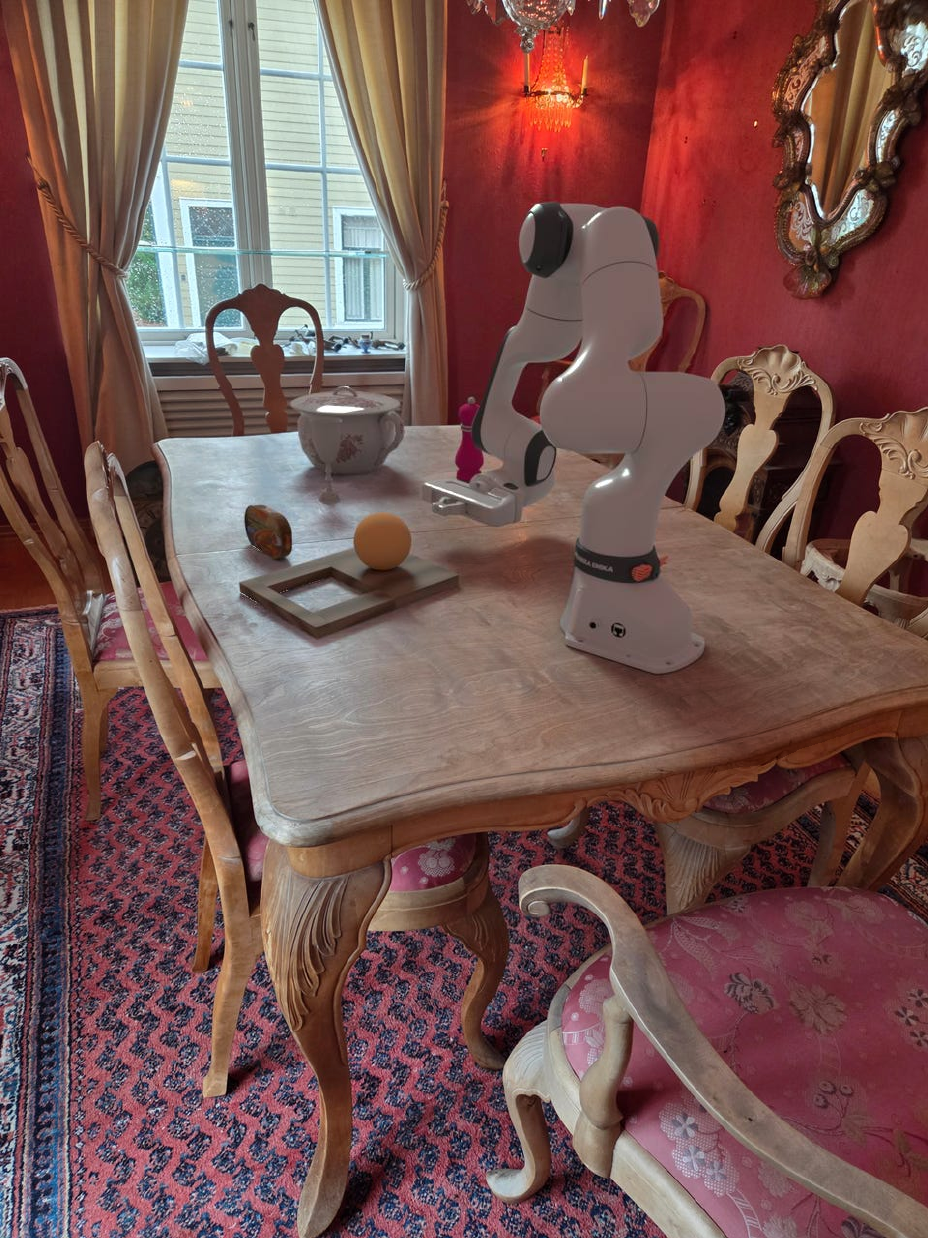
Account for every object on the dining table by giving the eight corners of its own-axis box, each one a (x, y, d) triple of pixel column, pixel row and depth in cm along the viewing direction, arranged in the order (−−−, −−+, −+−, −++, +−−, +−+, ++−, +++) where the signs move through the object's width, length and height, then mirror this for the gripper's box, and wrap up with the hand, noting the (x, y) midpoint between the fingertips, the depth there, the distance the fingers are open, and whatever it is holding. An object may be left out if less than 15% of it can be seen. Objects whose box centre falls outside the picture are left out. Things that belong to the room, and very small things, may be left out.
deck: (458, 585, 134) (459, 574, 133) (316, 639, 115) (316, 627, 114) (378, 549, 148) (378, 540, 147) (240, 593, 128) (238, 582, 128)
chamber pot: (289, 457, 205) (282, 377, 196) (389, 452, 213) (387, 375, 204) (301, 487, 182) (294, 398, 172) (413, 480, 189) (413, 395, 180)
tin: (244, 541, 150) (240, 500, 146) (259, 538, 152) (255, 497, 148) (281, 565, 140) (277, 522, 136) (297, 562, 141) (293, 518, 138)
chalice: (307, 501, 173) (302, 420, 165) (326, 493, 178) (321, 415, 170) (333, 506, 170) (329, 425, 162) (351, 498, 175) (348, 419, 167)
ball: (423, 568, 135) (423, 514, 130) (379, 584, 129) (377, 528, 124) (386, 552, 141) (385, 500, 137) (343, 566, 135) (340, 512, 130)
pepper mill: (480, 483, 189) (483, 400, 180) (451, 480, 190) (453, 398, 181) (485, 475, 195) (488, 395, 186) (457, 472, 196) (459, 393, 187)
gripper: (452, 466, 154) (400, 479, 145) (529, 491, 141) (477, 508, 133) (451, 496, 157) (400, 511, 148) (527, 524, 144) (475, 542, 136)
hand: (437, 510), depth 140 cm, fingers closed
